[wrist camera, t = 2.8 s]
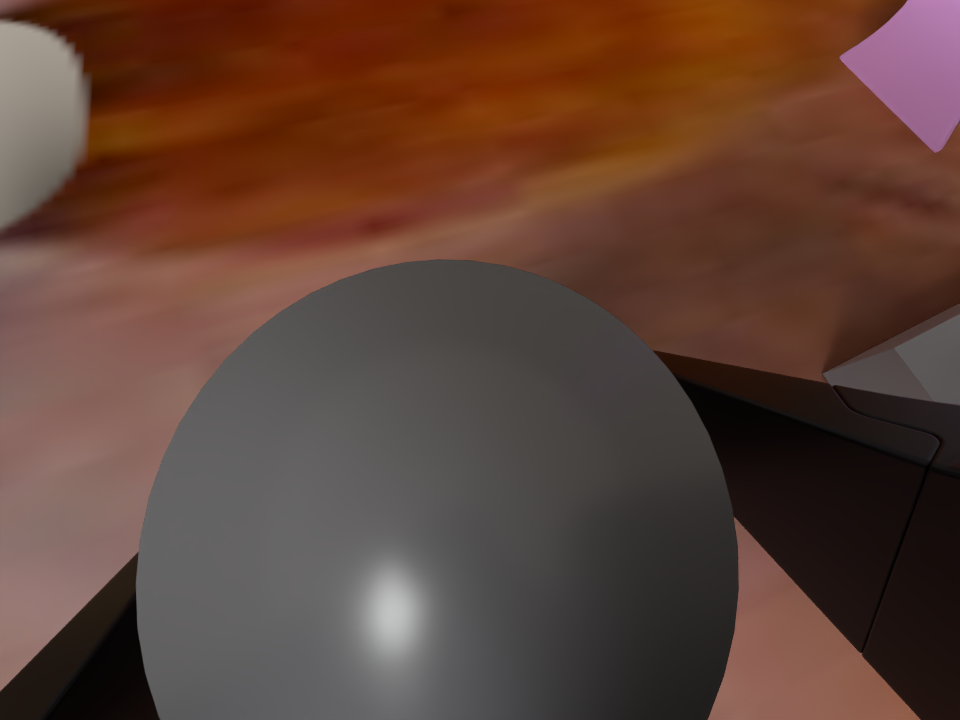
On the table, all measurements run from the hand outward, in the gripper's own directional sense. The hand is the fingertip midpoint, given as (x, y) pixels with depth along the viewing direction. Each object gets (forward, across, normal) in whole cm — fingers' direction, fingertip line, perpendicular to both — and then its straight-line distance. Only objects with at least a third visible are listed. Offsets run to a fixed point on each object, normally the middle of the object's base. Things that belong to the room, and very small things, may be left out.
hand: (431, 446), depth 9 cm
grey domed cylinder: (+4, 0, +6) cm, 7 cm away
